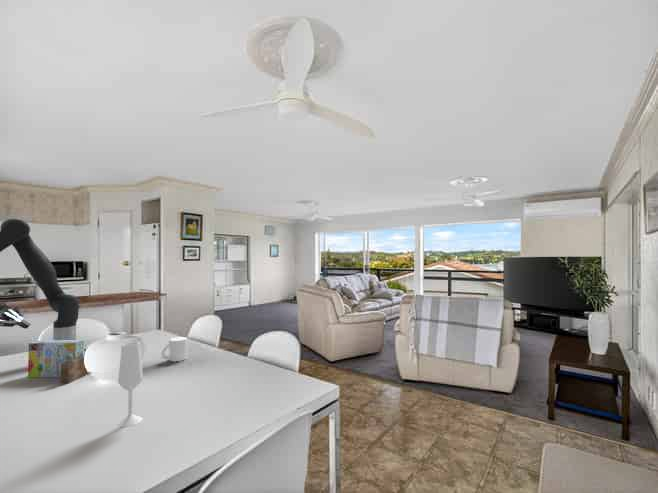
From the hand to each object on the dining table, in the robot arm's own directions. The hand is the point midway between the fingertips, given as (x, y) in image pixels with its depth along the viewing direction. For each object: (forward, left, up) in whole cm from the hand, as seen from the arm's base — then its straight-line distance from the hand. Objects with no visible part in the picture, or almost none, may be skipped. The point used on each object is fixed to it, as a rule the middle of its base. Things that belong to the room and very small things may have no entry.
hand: (28, 326), depth 155 cm
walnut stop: (+6, +28, -21) cm, 35 cm away
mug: (-18, +58, -21) cm, 65 cm away
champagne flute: (+46, +75, -21) cm, 90 cm away
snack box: (+3, +15, -21) cm, 27 cm away
